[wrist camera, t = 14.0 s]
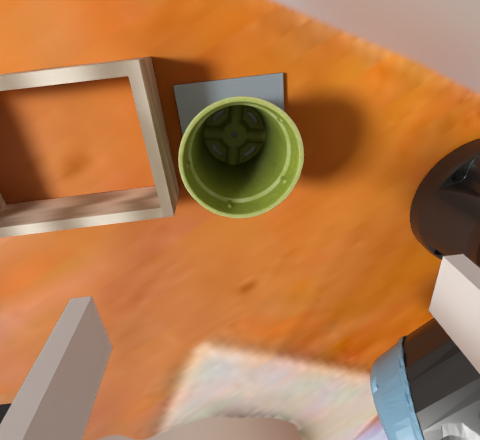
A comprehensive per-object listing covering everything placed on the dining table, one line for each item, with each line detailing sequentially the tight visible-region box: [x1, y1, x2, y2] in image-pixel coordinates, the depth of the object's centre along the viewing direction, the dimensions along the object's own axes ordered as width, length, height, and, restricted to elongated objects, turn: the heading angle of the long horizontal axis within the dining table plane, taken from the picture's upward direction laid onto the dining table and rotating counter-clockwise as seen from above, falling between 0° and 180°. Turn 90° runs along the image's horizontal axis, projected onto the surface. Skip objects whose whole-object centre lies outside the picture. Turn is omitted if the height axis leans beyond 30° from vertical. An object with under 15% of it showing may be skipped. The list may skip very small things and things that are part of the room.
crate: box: [0, 57, 179, 238], centre depth 29 cm, size 19×13×6 cm
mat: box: [173, 73, 284, 156], centre depth 32 cm, size 10×10×1 cm
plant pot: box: [178, 96, 304, 218], centre depth 28 cm, size 9×9×9 cm
